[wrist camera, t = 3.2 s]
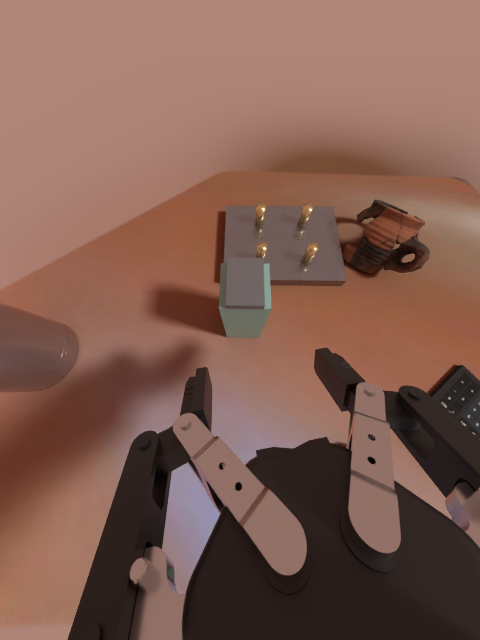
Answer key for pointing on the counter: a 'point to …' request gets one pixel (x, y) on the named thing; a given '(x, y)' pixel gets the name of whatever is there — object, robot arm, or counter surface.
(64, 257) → the counter surface
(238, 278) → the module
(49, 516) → the counter surface
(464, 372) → the calculator
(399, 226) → the pottery mug
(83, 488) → the counter surface
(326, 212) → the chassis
